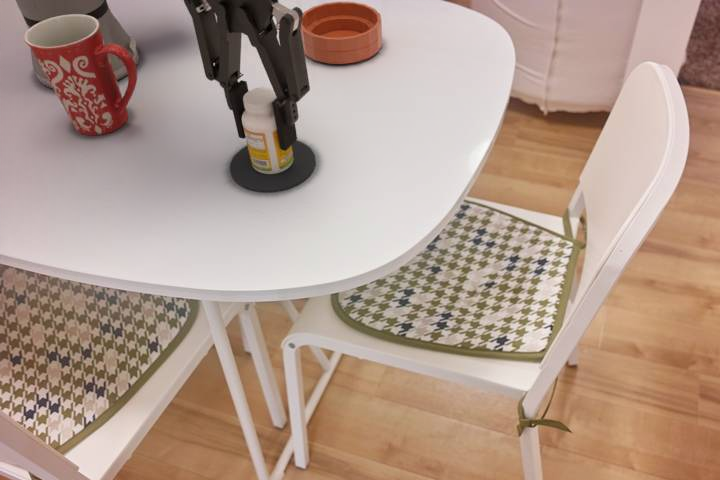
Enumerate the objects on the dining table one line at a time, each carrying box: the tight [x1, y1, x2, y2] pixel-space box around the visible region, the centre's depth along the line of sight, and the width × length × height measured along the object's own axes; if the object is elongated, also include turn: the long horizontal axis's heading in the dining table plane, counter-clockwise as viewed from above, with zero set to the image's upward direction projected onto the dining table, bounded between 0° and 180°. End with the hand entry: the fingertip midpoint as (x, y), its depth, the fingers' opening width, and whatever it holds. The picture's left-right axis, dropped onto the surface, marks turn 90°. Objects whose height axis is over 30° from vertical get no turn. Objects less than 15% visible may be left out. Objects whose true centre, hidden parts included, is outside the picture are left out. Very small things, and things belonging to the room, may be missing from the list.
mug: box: [23, 14, 138, 136], centre depth 81 cm, size 13×9×14 cm
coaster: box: [229, 139, 317, 193], centre depth 79 cm, size 11×11×1 cm
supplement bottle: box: [242, 87, 293, 174], centre depth 76 cm, size 5×5×10 cm
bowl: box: [301, 1, 383, 65], centre depth 99 cm, size 13×13×4 cm
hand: (268, 137), depth 76 cm, fingers closed on supplement bottle, 5 cm apart
